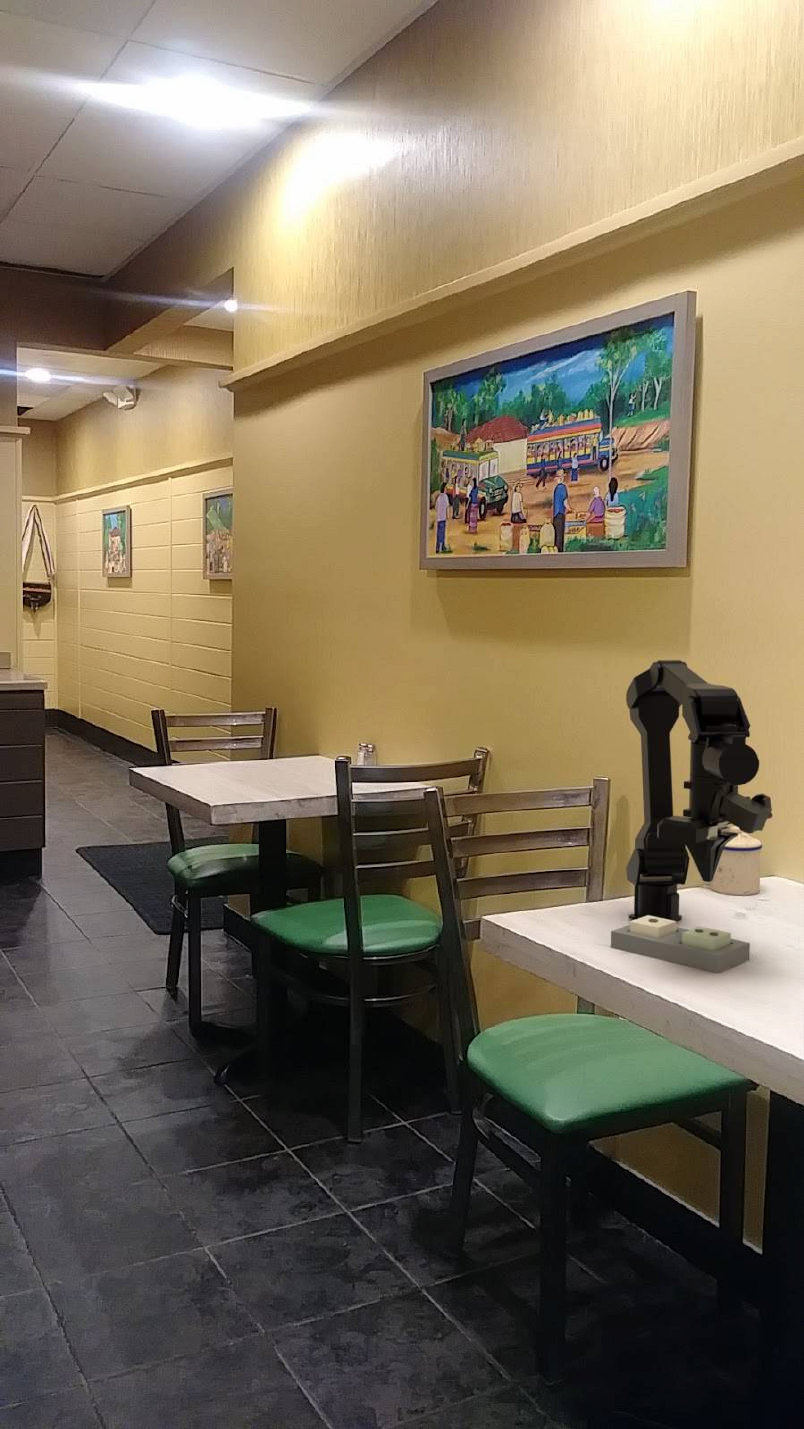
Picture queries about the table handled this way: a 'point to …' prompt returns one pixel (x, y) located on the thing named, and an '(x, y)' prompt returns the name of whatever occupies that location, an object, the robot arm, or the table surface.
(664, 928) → the cream tile one
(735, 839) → the teacup with lid
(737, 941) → the panel
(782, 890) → the table surface
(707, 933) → the sage tile two
